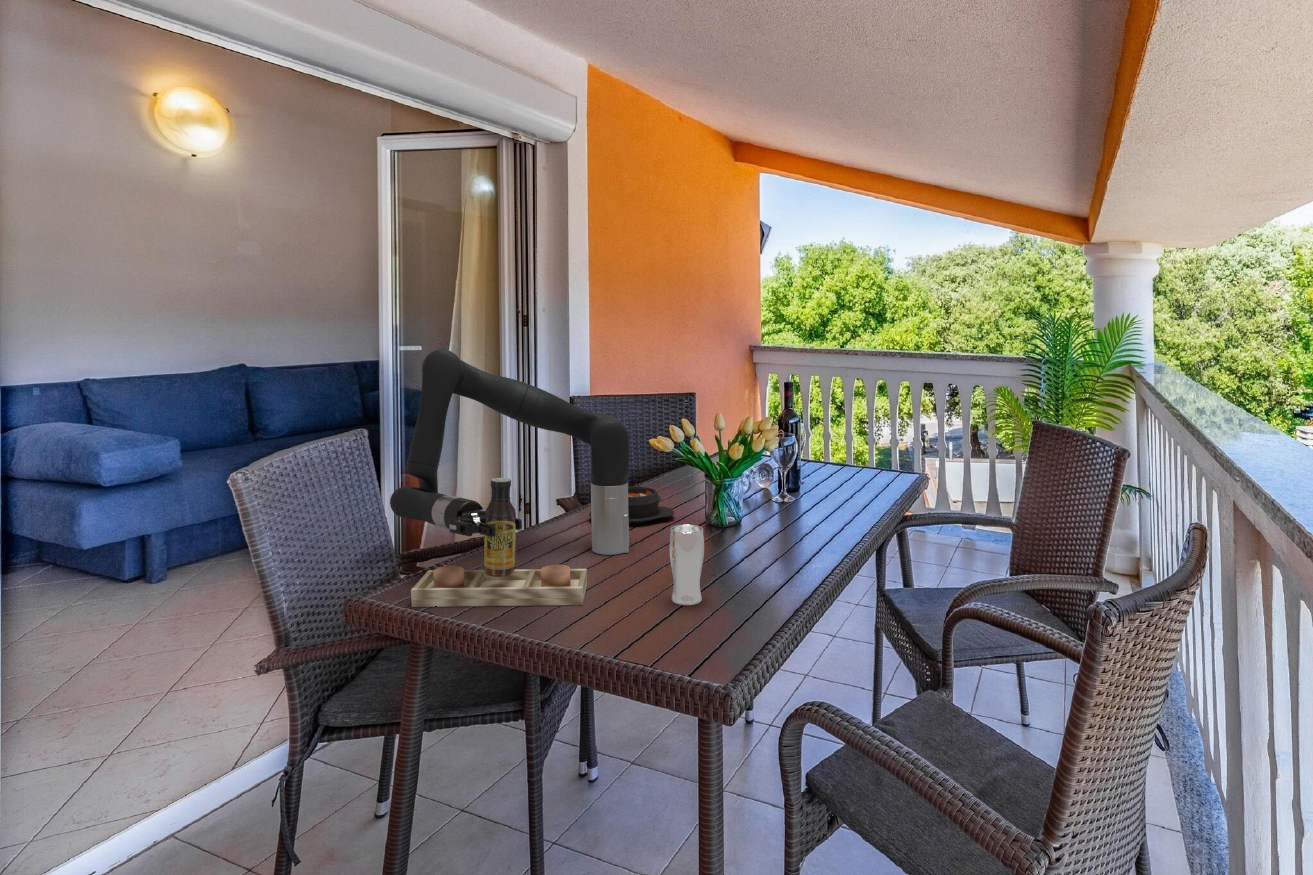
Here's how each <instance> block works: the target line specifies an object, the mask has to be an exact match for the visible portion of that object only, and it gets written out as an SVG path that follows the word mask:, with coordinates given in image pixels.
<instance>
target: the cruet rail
mask: <svg viewBox="0 0 1313 875" xmlns="http://www.w3.org/2000/svg"><path fill="white" fill-rule="evenodd" d="M587 587H588V570H587V568H571V567H570V566H569V565H565V564H550V565H546V566H543V567H541V569H540V568H539V569H537V568H535V569H534V568H533V569H532V568H531V569H523V568H522V569H514V571H513V573H512V574H511V575H508V576H502V577H494V576H489V575H487V574H486V573H485V569H464V567H462V566H460V565H445V566H444V565H443V566H441V567H437V568H435V569H434V570H431V569H430V570H427V571H426V573H425V574H424V575H423V576H422V577H421V578H420V579H419V580H418V582H417V583H416V584H415V585H414V586H413V587H411V589H410V595H411V596H410V598H411V607H412V608H420V607H421V608H425V607H427V608H428V607H430V608H431V607H432V608H433V607H435V606H437V608H439V607H441V608H442V607H443V608H444V607H514V606H515V607H518V606H522V607H525V606H528V607H529V606H584V600H585V597H586V590H587ZM435 608H436V607H435Z"/></svg>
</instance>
